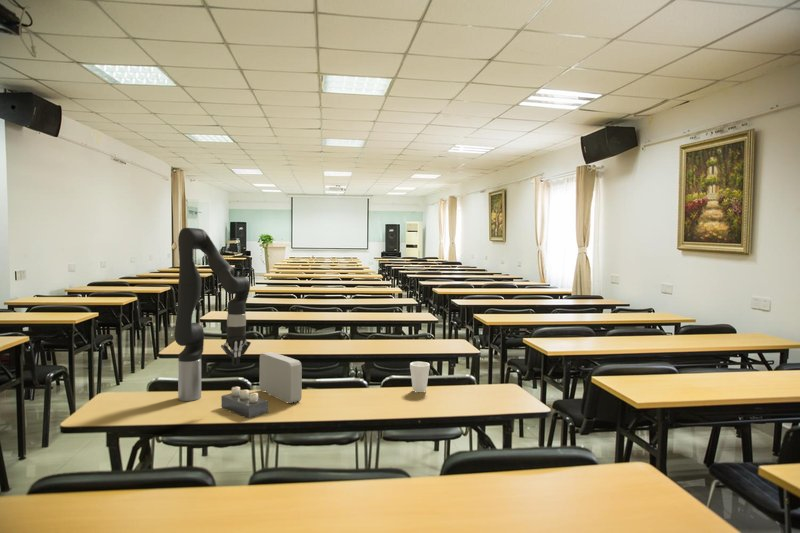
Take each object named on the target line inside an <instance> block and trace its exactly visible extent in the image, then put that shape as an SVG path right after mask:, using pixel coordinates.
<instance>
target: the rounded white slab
mask: <svg viewBox="0 0 800 533" xmlns="http://www.w3.org/2000/svg"><path fill="white" fill-rule="evenodd" d="M302 371H303V368H302V362H301V361H300V360H298V359H295V358H292V357H289V356H286V355H282V354H280V353H276V352H274V351H269V352H263V353H260V355H259V390H260V391H261V392H262V391H266V392H267V393H268V394H270V395H269V396H271V395H272V396H271V397H273V396H275V397H277V398H279V399H281V400H283V401H285V402H284V403H286V402H288V403H290V404H294V403H297V401H298V402H301V400H302V397H303V396H302V392H303V391H302V385H303V384H302V383H303V382H302V381H303V380H302V379H303V378H302V376H303V375H302V374H303V373H302ZM268 394H267V395H268ZM275 397H274V398H275ZM277 398H276V399H277ZM279 399H278V400H279ZM281 400H280V401H281ZM283 401H282V402H283ZM293 402H294V403H293ZM288 403H287V404H288Z"/></svg>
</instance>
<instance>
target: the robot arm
mask: <svg viewBox="0 0 800 533" xmlns="http://www.w3.org/2000/svg"><path fill="white" fill-rule="evenodd" d="M177 242H178V244H177V246H178V260H179V263H178V267H179V268H178V271H179V272H178V286H177V287H178V290H177V291H178V292H177V294H178V295H177V297H178V298H177V308H176V309H177V310H176V312H177V313H176V318H175V323H174V333H173V334H174V336H173V337H174V340H175V342H176V343H177V345H178V346H180V347H184V348H183V349H182V350H181V351H180V353H179V354H178V366H177V367H178V369H177V370H178V375H177V376H178V377H177V379H178V381H177V382H178V383H177V385H178V386H177V390H178V391H177V395H178V396H177V397H178V400H179V401H181V402H191V401H196V400H199V399H201V398H202V354H203V352H204V345H205V332H204V329H203V326H202V325H201V324H200V323H198V322H192V320H193V314H194V311H195V308H196V306H197V305H198V303H199V300H200V298H201V295H202V283H203V282H202V276H201V274H200V272H199V270H198V268H197V266H196V264H195V261H194V250H199V251H201V252H202V253H204V255H205V256H206V258H207V264H208V267H209V269H211V270H210V271H211V272H212V273H214V274H215V276H216V277H217V278H218V280H219V282H220V284H221V286H222V288H223V290H224V291H225V292H226V293H228V294H230V295H234V297H233V298H231V299H230V300H229V301H228V302H227V317H226V339H225V342H224V344H221V345H220V348H221V349H222V350H223V351H224V353H225V354H226V355H227V356H229V357H231V365H232V366H233V367H237V366H240V362H241V356H243V355H245V353H246V352H247V350H248V349H249V347H250V346H251V343H252V342H251V341H248V340H247V338H246V334H247V332H246V331H247V330H246V329H247V315H246V308H247V307H246V304H247V300H248V299H249V298H248V297H249V293H250V290H251V289H250V288H251V284H250V281H249V279H248V278H247V277H246V276H234V274H235V269H234V268H233V266H232V265H231V264H230V263H229V262H228V261H227V260H226V259H225V257H223V256H222V254H221V252H220V251H219V250H218V248H217V246H216V245H215V244H214V242H213V240H212V239H211V237H210V236H209V234H208V233H207V232H206V231H205V230H204V229H203V228H202V229H201V228H199V227H198V228H196V227H183V228H182V229H181V230H180V231H179V233H178V237H177Z"/></svg>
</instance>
